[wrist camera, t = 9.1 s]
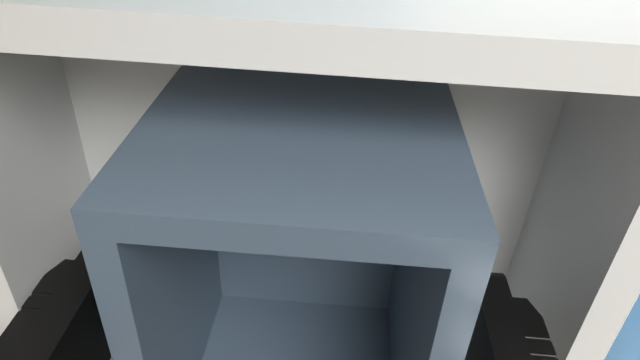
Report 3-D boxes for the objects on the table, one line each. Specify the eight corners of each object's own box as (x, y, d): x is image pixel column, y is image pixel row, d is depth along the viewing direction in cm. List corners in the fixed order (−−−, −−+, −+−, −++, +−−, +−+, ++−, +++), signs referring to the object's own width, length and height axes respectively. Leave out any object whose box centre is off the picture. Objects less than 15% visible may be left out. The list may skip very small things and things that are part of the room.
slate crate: (184, 62, 13) (69, 209, 8) (446, 79, 13) (500, 242, 8) (209, 293, 17) (146, 480, 12) (403, 309, 17) (419, 506, 12)
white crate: (19, -63, 12) (-158, -8, 8) (626, -25, 12) (769, 53, 8) (115, 317, 20) (48, 448, 15) (494, 349, 19) (530, 494, 15)
